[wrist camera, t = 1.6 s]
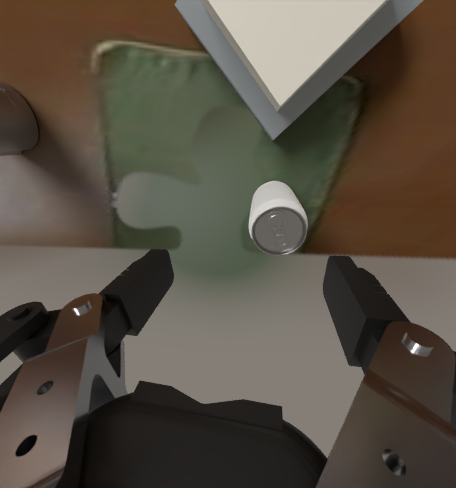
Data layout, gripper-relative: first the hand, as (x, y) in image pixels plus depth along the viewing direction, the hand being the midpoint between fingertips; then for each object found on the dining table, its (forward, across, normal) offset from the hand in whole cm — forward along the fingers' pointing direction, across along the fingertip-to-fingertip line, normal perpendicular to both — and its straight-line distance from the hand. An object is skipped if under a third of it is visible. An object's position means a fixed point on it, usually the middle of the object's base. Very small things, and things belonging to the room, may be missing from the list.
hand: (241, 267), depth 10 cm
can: (+23, -2, +3) cm, 23 cm away
